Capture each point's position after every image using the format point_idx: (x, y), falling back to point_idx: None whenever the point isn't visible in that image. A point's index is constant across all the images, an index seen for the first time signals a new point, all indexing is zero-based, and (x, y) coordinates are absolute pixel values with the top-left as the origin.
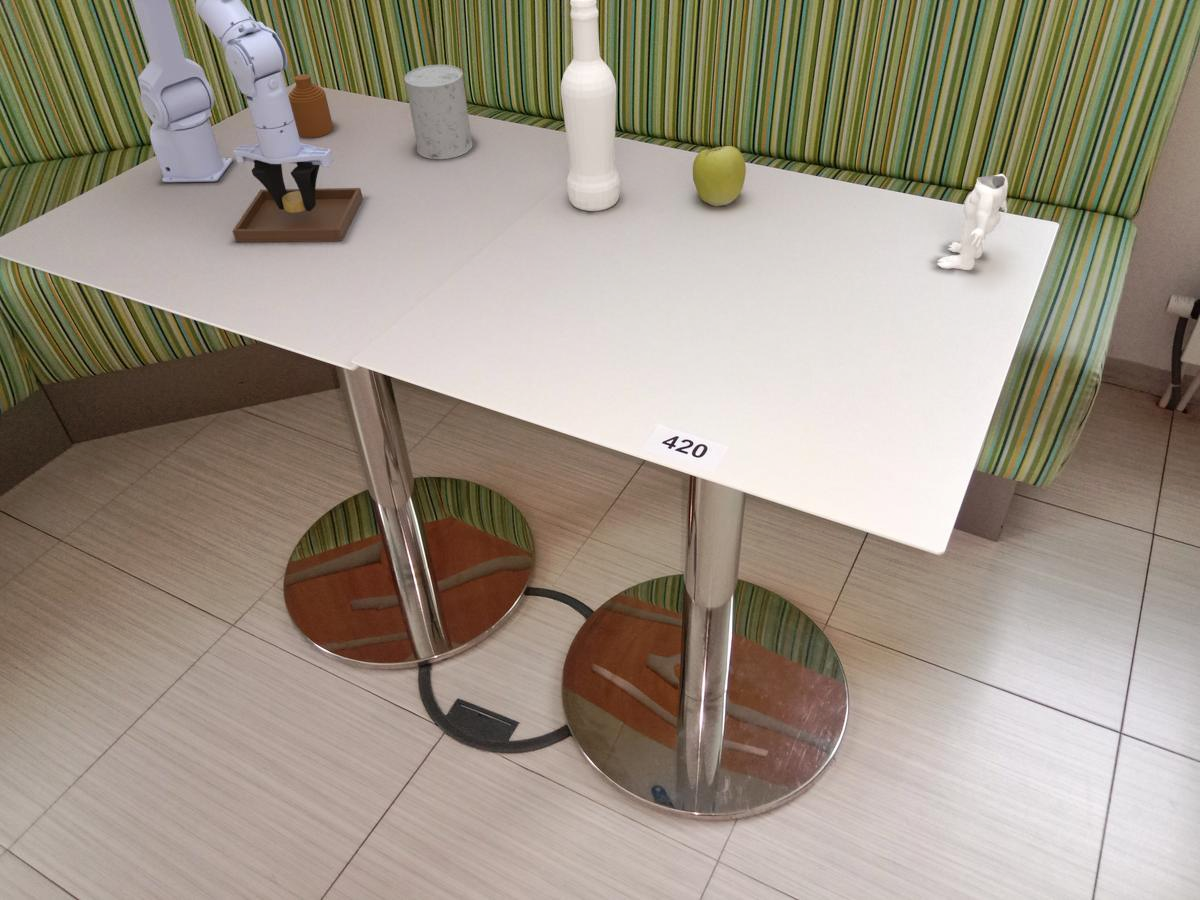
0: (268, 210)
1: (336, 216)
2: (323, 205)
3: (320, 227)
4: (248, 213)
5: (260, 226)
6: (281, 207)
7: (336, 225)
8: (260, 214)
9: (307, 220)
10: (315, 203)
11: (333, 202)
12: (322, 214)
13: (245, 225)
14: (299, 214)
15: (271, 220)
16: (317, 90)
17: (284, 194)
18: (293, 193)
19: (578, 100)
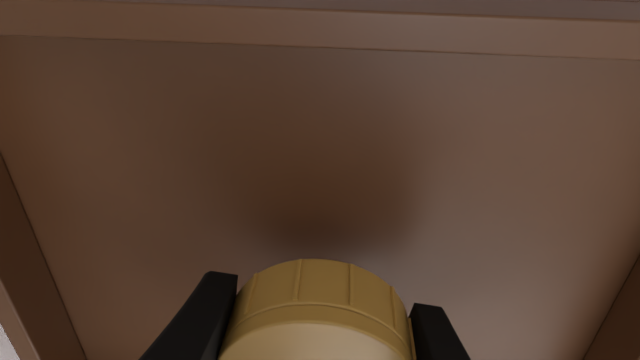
0: (77, 174)
1: (547, 270)
2: (450, 135)
3: None
4: (23, 318)
5: (134, 318)
6: None
7: (545, 346)
8: (55, 212)
9: None
10: (447, 318)
11: (528, 95)
12: (456, 243)
13: (65, 343)
14: (306, 232)
15: (163, 278)
16: None
17: (213, 354)
18: (285, 349)
19: None
